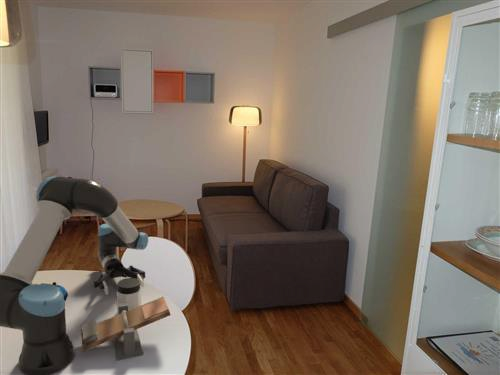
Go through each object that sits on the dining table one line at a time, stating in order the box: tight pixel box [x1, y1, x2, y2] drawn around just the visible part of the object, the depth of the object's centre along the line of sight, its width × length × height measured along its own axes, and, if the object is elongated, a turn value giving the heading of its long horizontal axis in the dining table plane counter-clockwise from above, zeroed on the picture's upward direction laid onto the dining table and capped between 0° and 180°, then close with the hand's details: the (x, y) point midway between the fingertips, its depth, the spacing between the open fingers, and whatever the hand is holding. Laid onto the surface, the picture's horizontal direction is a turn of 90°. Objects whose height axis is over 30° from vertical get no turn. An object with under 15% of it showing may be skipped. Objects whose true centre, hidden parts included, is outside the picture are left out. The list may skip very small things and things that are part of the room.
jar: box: [116, 277, 142, 315], centre depth 152 cm, size 9×8×12 cm
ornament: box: [52, 281, 69, 302], centre depth 153 cm, size 9×9×10 cm
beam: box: [80, 296, 171, 352], centre depth 134 cm, size 28×13×4 cm, turn 112°
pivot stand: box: [112, 303, 144, 361], centre depth 135 cm, size 8×18×9 cm, turn 23°
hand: (125, 287), depth 158 cm, fingers open, 13 cm apart
